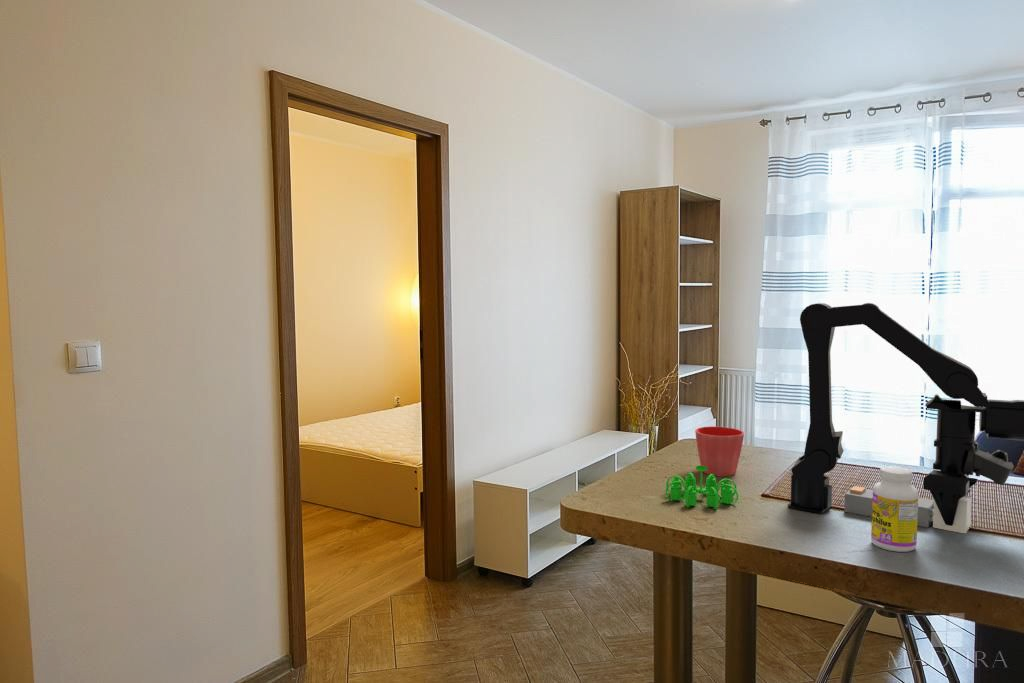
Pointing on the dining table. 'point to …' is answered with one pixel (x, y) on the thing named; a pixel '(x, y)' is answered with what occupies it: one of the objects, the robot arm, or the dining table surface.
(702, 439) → the flower pot
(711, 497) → the chandelier
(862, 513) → the power strip
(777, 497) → the dining table surface
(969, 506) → the charger
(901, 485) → the supplement bottle
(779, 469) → the dining table surface
